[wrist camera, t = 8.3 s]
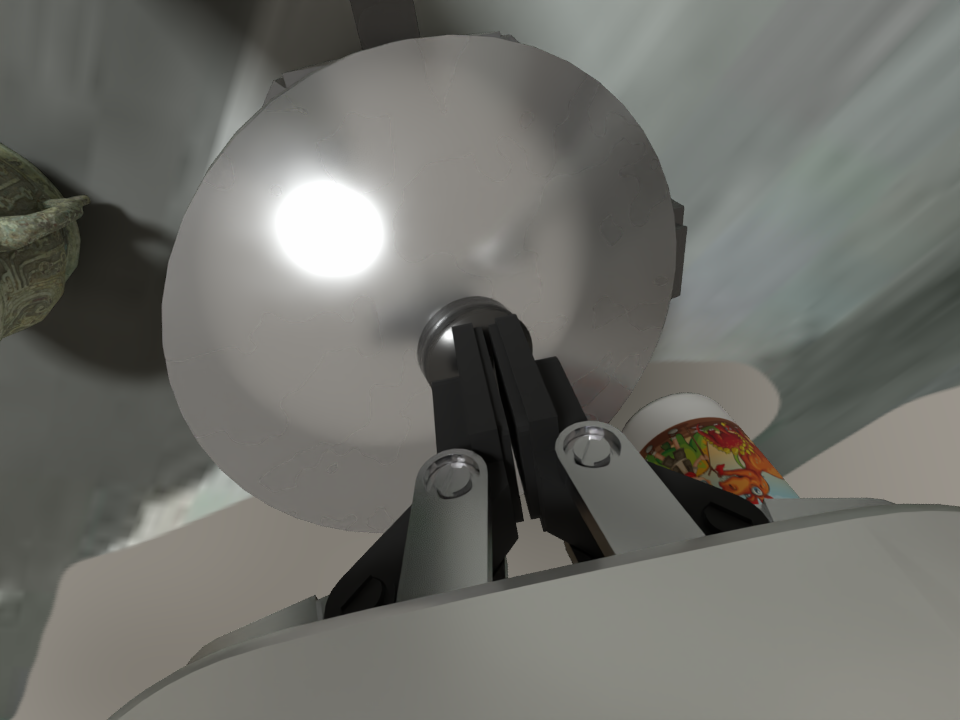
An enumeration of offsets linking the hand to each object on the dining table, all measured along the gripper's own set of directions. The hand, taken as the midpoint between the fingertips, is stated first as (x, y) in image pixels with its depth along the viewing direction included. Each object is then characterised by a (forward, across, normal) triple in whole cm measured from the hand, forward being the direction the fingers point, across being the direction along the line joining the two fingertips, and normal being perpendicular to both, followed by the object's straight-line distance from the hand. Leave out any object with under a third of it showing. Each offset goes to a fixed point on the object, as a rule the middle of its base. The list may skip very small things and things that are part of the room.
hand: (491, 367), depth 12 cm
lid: (+2, +1, 0) cm, 2 cm away
